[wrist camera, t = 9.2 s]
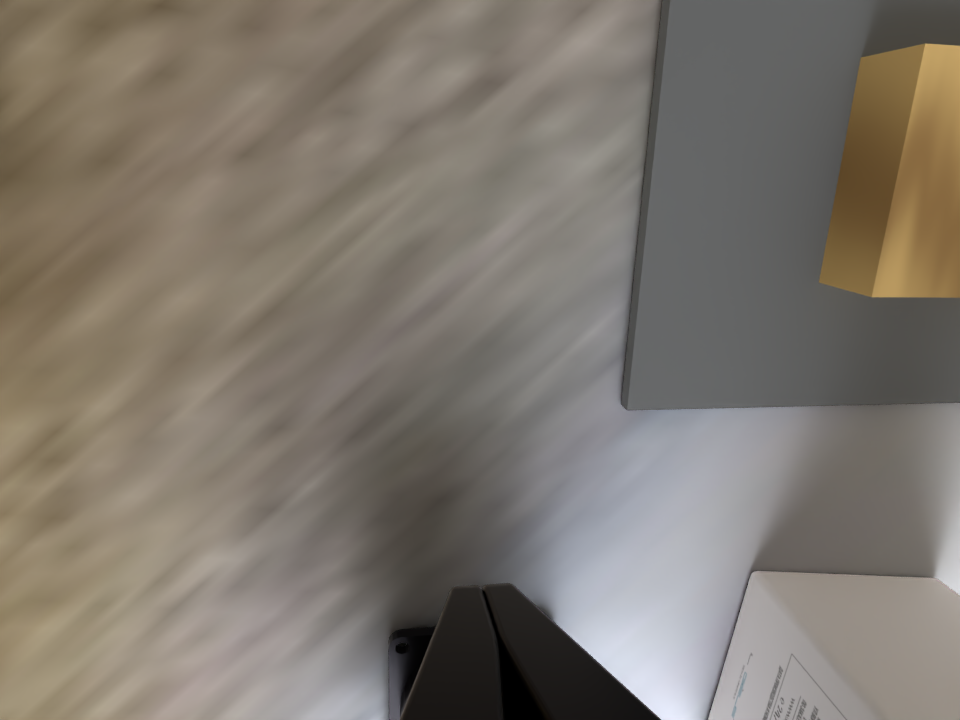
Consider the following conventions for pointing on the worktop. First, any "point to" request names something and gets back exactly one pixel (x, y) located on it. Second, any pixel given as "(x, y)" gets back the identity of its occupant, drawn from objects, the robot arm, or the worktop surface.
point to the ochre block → (900, 179)
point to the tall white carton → (842, 650)
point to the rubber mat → (770, 216)
